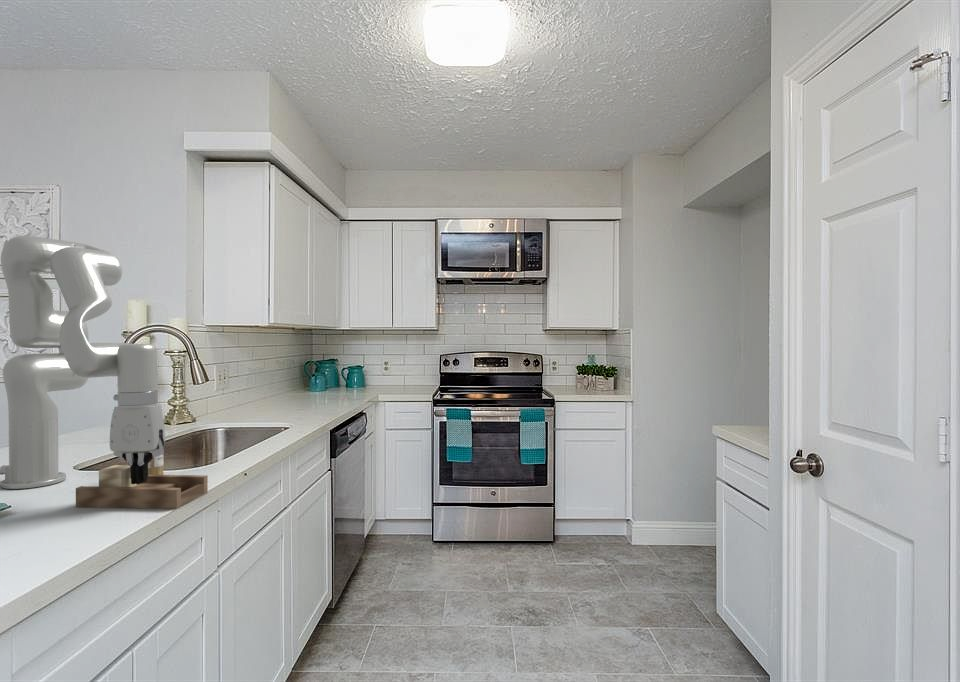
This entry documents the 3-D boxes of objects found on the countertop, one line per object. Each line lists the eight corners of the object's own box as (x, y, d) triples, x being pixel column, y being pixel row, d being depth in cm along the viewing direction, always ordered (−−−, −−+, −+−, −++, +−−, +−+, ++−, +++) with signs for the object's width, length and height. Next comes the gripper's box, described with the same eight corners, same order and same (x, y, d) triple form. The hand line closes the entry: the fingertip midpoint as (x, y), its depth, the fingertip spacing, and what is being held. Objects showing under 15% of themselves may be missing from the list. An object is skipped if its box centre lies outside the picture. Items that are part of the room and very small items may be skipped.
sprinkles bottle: (164, 479, 141) (164, 426, 141) (143, 482, 138) (143, 428, 138) (163, 476, 145) (163, 424, 144) (142, 478, 142) (142, 425, 142)
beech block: (98, 491, 122) (98, 470, 122) (114, 485, 127) (114, 465, 127) (121, 491, 121) (121, 470, 121) (136, 485, 126) (136, 465, 126)
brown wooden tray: (75, 507, 119) (75, 488, 118) (115, 491, 131) (115, 474, 130) (176, 508, 117) (176, 489, 117) (207, 492, 129) (207, 475, 129)
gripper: (92, 401, 120) (94, 487, 120) (160, 401, 120) (161, 487, 120) (117, 398, 128) (118, 478, 128) (181, 397, 127) (182, 478, 127)
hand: (139, 482), depth 124 cm, fingers closed
